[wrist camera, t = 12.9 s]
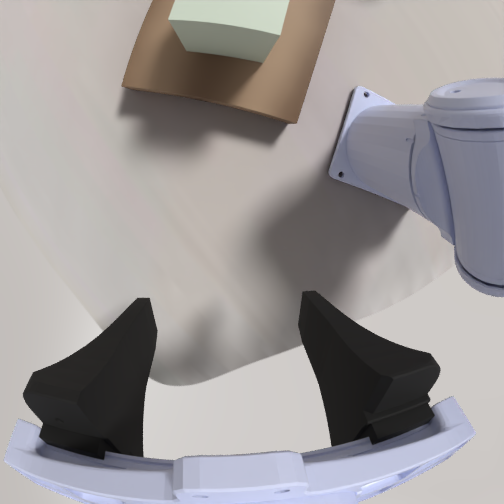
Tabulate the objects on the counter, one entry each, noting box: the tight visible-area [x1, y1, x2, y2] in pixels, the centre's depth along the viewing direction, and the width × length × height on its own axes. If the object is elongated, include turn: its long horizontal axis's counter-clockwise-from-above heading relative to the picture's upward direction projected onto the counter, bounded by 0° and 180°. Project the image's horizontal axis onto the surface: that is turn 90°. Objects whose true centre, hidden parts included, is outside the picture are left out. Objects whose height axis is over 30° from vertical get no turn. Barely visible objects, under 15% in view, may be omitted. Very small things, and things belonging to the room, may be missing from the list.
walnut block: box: [122, 0, 335, 124], centre depth 14 cm, size 12×12×3 cm
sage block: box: [168, 0, 290, 63], centre depth 10 cm, size 5×5×6 cm
